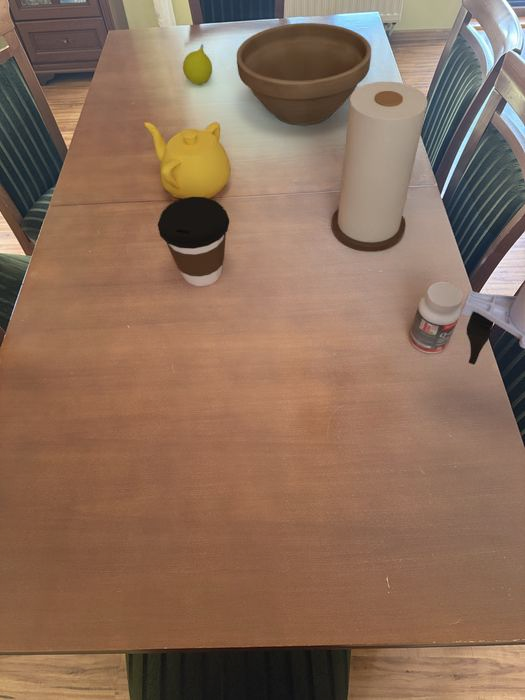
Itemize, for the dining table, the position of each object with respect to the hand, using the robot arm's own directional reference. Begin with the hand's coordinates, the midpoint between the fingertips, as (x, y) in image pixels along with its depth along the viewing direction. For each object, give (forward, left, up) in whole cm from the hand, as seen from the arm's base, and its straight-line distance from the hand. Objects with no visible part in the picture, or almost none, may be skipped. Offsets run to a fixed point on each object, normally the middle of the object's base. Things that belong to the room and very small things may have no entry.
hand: (506, 369), depth 60 cm
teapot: (+63, -27, -11) cm, 69 cm away
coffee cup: (+48, -7, -11) cm, 49 cm away
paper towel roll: (+27, -30, -10) cm, 42 cm away
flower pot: (+55, -63, -11) cm, 84 cm away
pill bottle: (+10, -10, -11) cm, 17 cm away
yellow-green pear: (+84, -65, -11) cm, 107 cm away
